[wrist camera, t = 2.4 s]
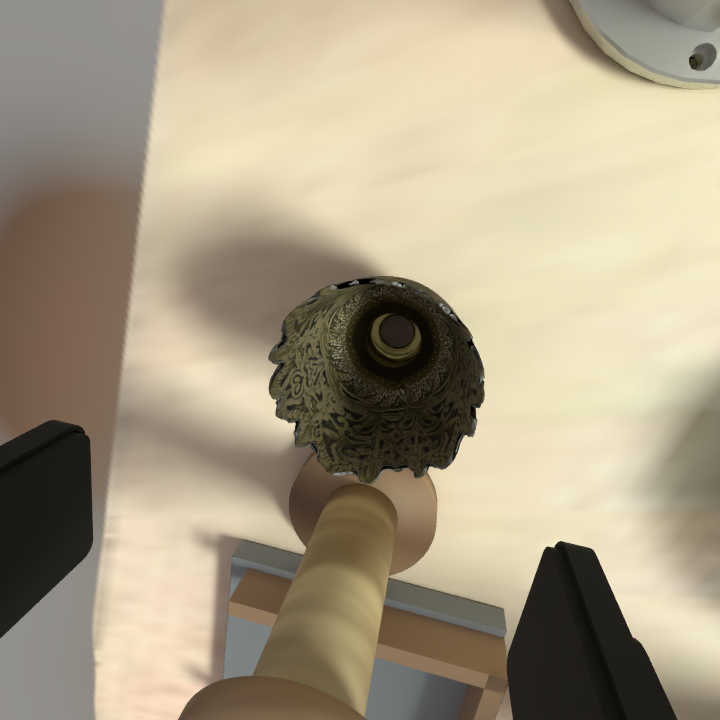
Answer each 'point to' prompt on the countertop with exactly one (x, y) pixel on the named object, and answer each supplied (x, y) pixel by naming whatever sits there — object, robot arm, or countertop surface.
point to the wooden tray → (385, 642)
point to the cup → (377, 379)
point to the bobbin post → (330, 598)
